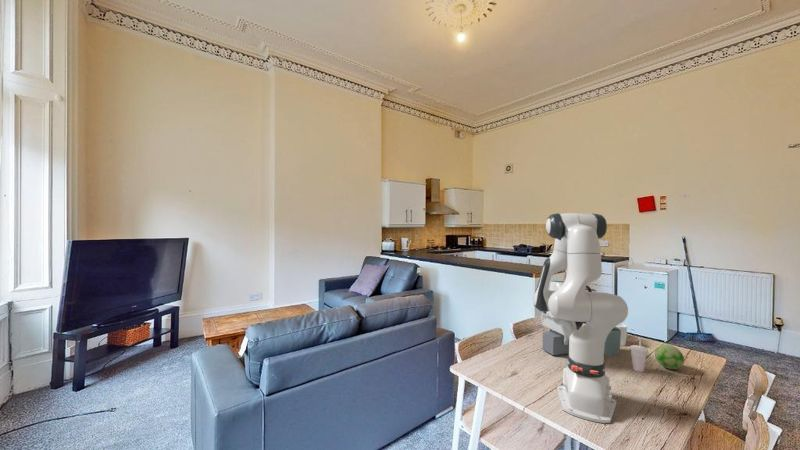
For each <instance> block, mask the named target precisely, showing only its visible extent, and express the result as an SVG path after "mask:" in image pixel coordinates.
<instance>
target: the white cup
mask: <svg viewBox="0 0 800 450" xmlns="http://www.w3.org/2000/svg"><path fill="white" fill-rule="evenodd" d="M615 327H618V328H620V329H621V337H620V339H621V340H620V347H621V346H623V347H624V346H626V344H627V343H626V342H627V334H628V332H627V331H628V325H627V324H625V323H623V322H622V323H620V324H618V325H617V326H615Z"/></svg>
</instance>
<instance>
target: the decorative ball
mask: <svg viewBox="0 0 800 450" xmlns="http://www.w3.org/2000/svg"><path fill="white" fill-rule="evenodd" d="M654 358H655V360H656V361H657V362H658V363H659V364H660V365H661V366H662V367H663V368H665V369H669V370H677V369H678V370H679V369H680V368H682V367H683V365H684V363H685V356H684V355H683V353H682V351H681V350H680V349H679V348H678V347H675V346H673V345H672V344H671V345H670V344H662V345H660V346H658V347H656V349H655V350H654Z"/></svg>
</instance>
